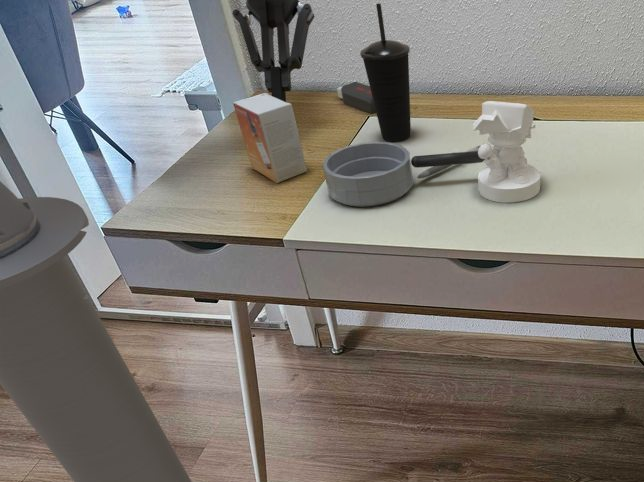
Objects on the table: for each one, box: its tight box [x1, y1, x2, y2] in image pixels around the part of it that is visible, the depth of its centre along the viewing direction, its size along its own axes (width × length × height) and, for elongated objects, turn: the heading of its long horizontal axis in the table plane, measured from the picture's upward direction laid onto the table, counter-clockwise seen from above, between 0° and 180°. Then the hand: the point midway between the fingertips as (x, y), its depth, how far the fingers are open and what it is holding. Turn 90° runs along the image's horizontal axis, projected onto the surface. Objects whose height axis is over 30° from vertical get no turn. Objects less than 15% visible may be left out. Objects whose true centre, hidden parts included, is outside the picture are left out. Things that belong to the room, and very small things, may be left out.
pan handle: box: [410, 151, 485, 169], centre depth 89 cm, size 11×2×2 cm, turn 93°
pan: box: [322, 141, 414, 208], centre depth 89 cm, size 12×12×4 cm
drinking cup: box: [359, 2, 412, 143], centre depth 99 cm, size 8×8×20 cm
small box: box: [232, 92, 308, 184], centre depth 94 cm, size 8×6×10 cm
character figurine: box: [472, 100, 541, 204], centre depth 85 cm, size 9×10×12 cm
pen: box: [416, 144, 482, 180], centre depth 94 cm, size 1×14×1 cm, turn 135°
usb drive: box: [336, 81, 376, 114], centre depth 118 cm, size 5×12×3 cm, turn 43°
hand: (279, 109), depth 100 cm, fingers closed
